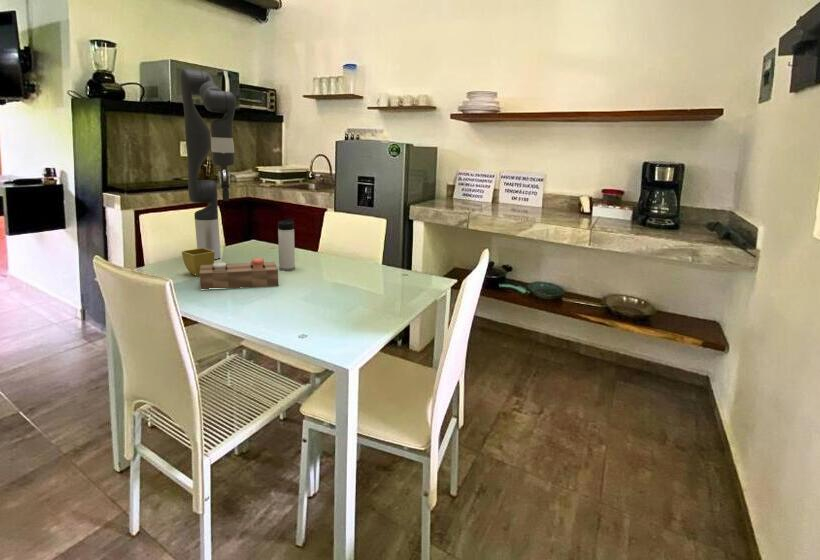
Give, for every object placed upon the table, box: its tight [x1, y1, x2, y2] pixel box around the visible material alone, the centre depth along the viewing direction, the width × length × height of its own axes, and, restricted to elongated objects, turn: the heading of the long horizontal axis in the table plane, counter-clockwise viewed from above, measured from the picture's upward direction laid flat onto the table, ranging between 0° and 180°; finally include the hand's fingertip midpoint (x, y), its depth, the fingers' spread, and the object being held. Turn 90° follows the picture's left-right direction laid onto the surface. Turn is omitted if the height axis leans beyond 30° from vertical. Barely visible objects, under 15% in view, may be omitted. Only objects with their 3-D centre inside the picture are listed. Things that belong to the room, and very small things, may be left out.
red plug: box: [250, 257, 265, 269], centre depth 177 cm, size 4×4×7 cm
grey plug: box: [213, 261, 227, 270], centre depth 172 cm, size 4×4×7 cm
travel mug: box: [277, 218, 296, 272], centre depth 195 cm, size 6×7×20 cm
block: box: [199, 261, 279, 290], centre depth 175 cm, size 12×26×6 cm, turn 111°
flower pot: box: [180, 248, 215, 276], centre depth 184 cm, size 9×9×9 cm
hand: (226, 200), depth 175 cm, fingers closed
